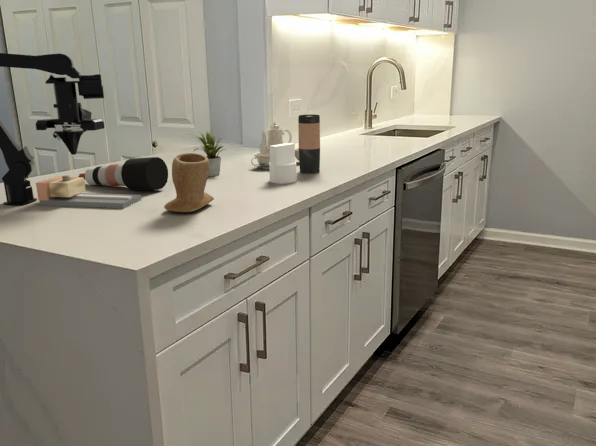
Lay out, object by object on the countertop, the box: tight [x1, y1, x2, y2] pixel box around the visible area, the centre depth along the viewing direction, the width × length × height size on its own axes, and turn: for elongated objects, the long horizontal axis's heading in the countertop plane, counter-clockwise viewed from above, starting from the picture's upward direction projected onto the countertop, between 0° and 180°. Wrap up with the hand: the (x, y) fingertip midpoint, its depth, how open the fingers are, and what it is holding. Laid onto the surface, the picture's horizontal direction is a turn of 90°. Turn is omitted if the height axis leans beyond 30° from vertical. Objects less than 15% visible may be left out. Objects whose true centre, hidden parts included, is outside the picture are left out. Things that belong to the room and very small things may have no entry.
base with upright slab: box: [269, 142, 298, 184], centre depth 179 cm, size 9×9×12 cm
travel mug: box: [297, 114, 321, 175], centre depth 192 cm, size 8×8×20 cm
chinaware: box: [250, 121, 299, 170], centre depth 209 cm, size 28×17×17 cm, turn 132°
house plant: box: [188, 130, 227, 177], centre depth 191 cm, size 14×14×16 cm
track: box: [35, 175, 142, 209], centre depth 155 cm, size 26×10×6 cm, turn 78°
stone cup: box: [163, 152, 215, 213], centre depth 145 cm, size 15×12×15 cm
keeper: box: [49, 174, 86, 197], centre depth 156 cm, size 6×8×5 cm
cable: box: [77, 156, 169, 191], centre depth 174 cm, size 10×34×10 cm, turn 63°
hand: (73, 154), depth 158 cm, fingers closed
